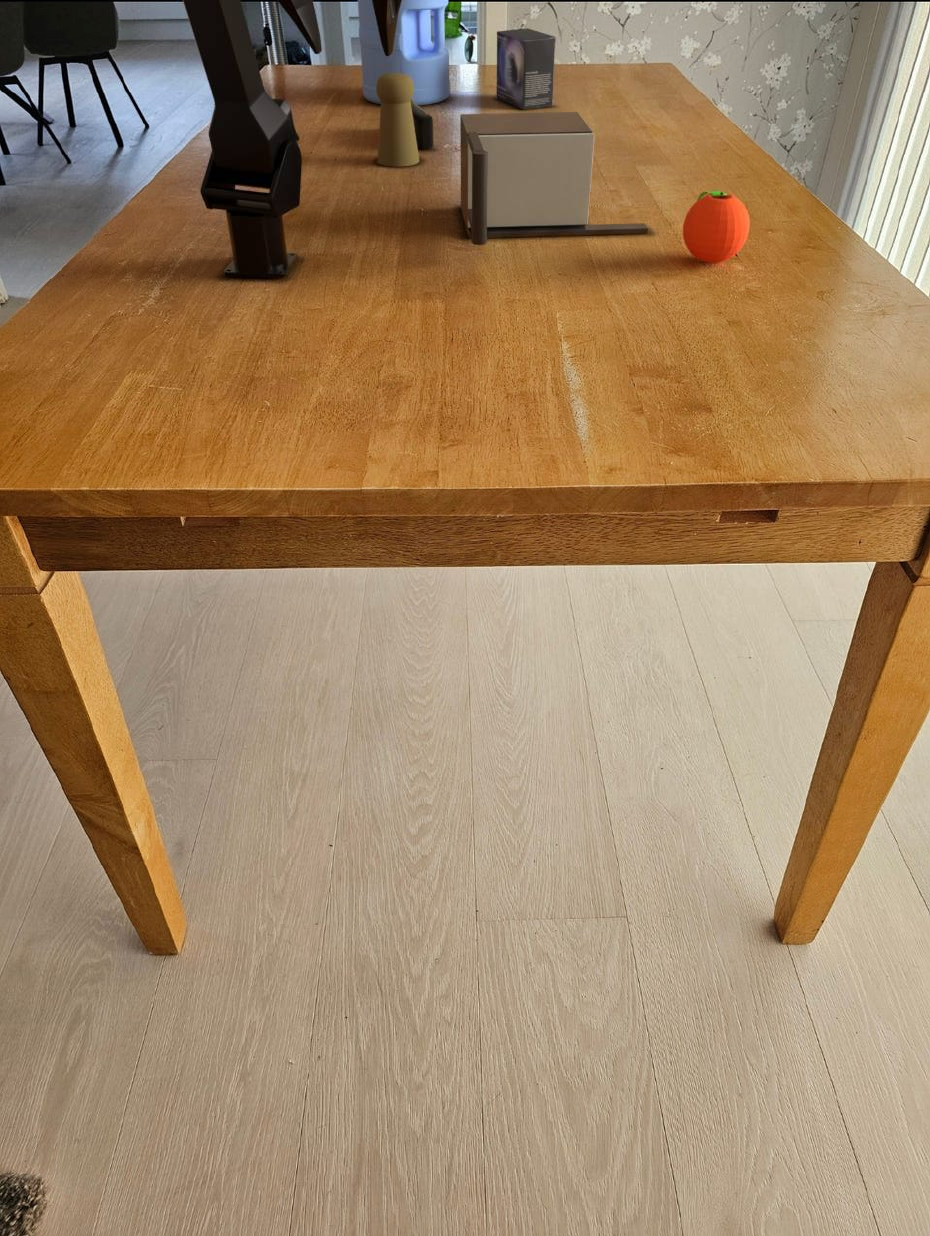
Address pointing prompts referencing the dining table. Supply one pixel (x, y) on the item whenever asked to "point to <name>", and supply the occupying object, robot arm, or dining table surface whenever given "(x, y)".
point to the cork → (396, 121)
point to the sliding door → (528, 180)
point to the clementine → (716, 227)
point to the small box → (525, 68)
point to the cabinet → (530, 125)
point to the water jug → (407, 50)
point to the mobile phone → (422, 127)
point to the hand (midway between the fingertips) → (353, 54)
